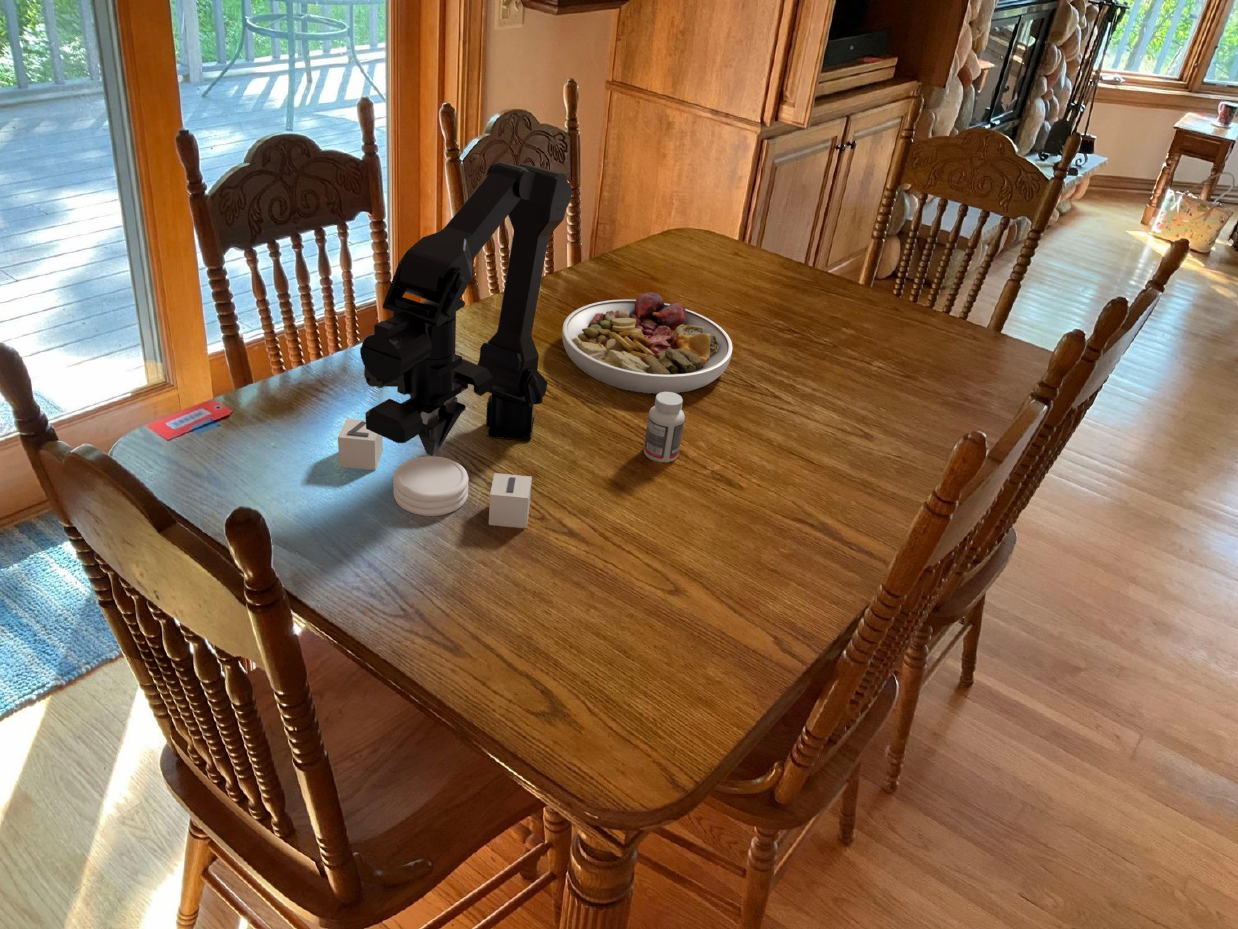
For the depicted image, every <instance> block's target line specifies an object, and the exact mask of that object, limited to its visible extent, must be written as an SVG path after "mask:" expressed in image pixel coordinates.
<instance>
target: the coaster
mask: <svg viewBox="0 0 1238 929" xmlns="http://www.w3.org/2000/svg"><path fill="white" fill-rule="evenodd" d="M392 478H393V480H392V481H393V498H394V500H395V501H396V503H397V505H398V506H399V507H400V508H401V509H403V510H405V511H407V512H408V513H411V514H415V515H418V516H425V517H431V516H432V517H437V516H444V515H447V514H451V513H453V512H456V511H457V510H459V509H460V508H461V507H462V506H463V505H464V504H465V503H466V502H467V500H468V497H469V474H468V472H467V470H466V469H465V468H464V467H463V466H462V465H461V464H460V463H458V462H457V461H454V459H453V460H452V459H450V458H447V457H443V456H436V455H434V456H430V455H427V456H421V457H420V456H419V457H416V458H412V459H409V460H407V461H405V462H403V463H402V464H401V465H399V466H398V467H397V469H395V472H394V473H393V477H392Z"/></svg>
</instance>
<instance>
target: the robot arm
mask: <svg viewBox="0 0 1238 929" xmlns="http://www.w3.org/2000/svg"><path fill="white" fill-rule="evenodd" d="M572 189H573V188H572V185H571V183H570V182H568V177H567V176H566V174H565V173H562V172H559V171H555V170H552V169H548V168H544V167H539V166H536V165H532V164H529V163H525V162H523V163H520V164H519V165H515V164H513V163H508V162H504V161H498V162H493V163H492V164H490V165H489V167H488V170H487V173H486V177H485V178H484V180H483V181H482V182H481V183H480V184H479V185H478V186H477V188H476V189H475V190H474V191H473V193H472V194H471V195H470V196H469V198H468V199H467V200H466V201H465V203H464V204H463V205H462V206H461V207H460V208H459V209H458V210H457V212H456V213H455V214H454V215H453V217H452V218H451V219H450V220H449V221H448V222H447V224H446V225H445V226H444V227H443V228H442V229H441V230H439V231H438V232H434V233H432V234H429V235H425V236H423V237H421V238H420V239H419V240H418V241H417V242H415V243H414V244H413V245H412V246H411V247H409V248H408V250H406V251H405V252H404V254H403V256H402V257H401V258H400V260H399V261H398V264H397V267H396V269H395V271H394V275H393V277H392V280H391V282H390V286H389V287H388V291H387V293H386V295H385V298H384V301H383V304H382V309H383V310H386V311H388V312H392V315H393V316H391V317H388V318H387V319H386V320H385V319H384V320H380V321H379V322H377V323H375V324H374V326H373V332H374V333H372V334H370V335H368V336H367V337H365V338H364V340H363V341H362V343H361V346H360V348H359V350H360V351H359V352H360V353H359V354H360V359H361V361H362V364H363V365H364V370H363V371H364V372H363V375H364V378H365V382H366V384H367V385H368V386H369V387H374V388H375V387H377V388H379V389H383V388H385V387H386V388H387V387H391V388H392V387H393V388H394V387H395V388H396V387H397V389H396V390H397V391H396V392H397V393H399V394H400V395H403V396H406V395H409V398H408V399H406V400H405V401H403V402H398V401H396V400H394V399H392V398H388V399H386V400H384V401H382V402H381V403H379V404H377V405H375V406H373V407H372V408H369V409H368V410H367V411H366V412H365V420H366V429H368V430H370V431H372V432H374V433H376V434H379V435H381V436H383V438H386V439H388V440H390V441H393V442H394V443H397V444H405V443H407V442H409V441H411V440H412V439H414V438H415V437H417V436H418V437H419V439H420V442H421V444H422V445H423V449H424V451H425V453H426V454H427V456H436V455H437V454H438V452H439V451H440V449H441V447H442V445H443V444H444V442H445V440H446V439H447V437H448V435H449V433H450V431H451V430H452V428H453V427H454V426H455V424H456V422H457V421H458V419H459V417H460V416H461V415H462V413H463V412H464V411H465V410H466V408H467V407H466V404H464V403H461V402H459V401H458V397H457V396H458V395H459V394H461V393H462V392H464V391H465V390H467V389H469V385H471V386H473V393H474V394H476V395H477V396H480V397H481V396H483V395H485V394H486V393H489V394H490V395H489V396H488V399H487V402H486V416H485V417H486V419H485V421H486V422H485V426H486V427H487V428H488V430H487V437H490V438H498V439H508V440H516V441H517V440H519V441H531V440H532V434H533V429H534V424H535V423H534V422H535V417H534V407H535V405H541V404H543V398H544V397H545V395H546V392H547V387H548V385H549V384H548V381H547V380H546V379H545V377H544V376H543V375H542V374H541V373H540V372H539V371H538V369H539V368H538V367H539V352H538V350H537V347H536V345H535V341H534V339H533V337H532V334H533V327H534V322H535V317H536V311H537V304H538V301H539V300H538V299H539V294H540V288H541V283H542V277H543V273H544V266H545V261H546V254H547V249H548V244H549V243H548V242H549V238H550V235H552V233H553V232H554V231H555V230H556V229H557V228H558V226H560V224H562V223H563V221H564V219H565V215H566V212H567V208H568V207H569V205H570V202H571V200H572V195H573V190H572ZM507 217H508V218H509V221H510V224H511V227H512V230H513V234H512V240H511V246H510V251H509V258H508V264H507V269H506V270H507V271H506V277H505V283H504V290H503V295H502V300H501V308H500V313H499V314H500V315H499V320H498V325H497V329H496V330H497V331H496V332H495V333H494V335H492V337H490V339H489V340H488V341H487V342H483V343H482V344H481V346H480V348H479V349H480V350H479V358H478V359H479V360H478V363H477V364H476V363H474V362H471V361H468V360H466V359H464V358H463V356H461V355H458V354H456V342H457V340H456V339H457V338H456V337H457V336H456V335H457V334H456V332H457V323H456V322H457V312H458V311H459V310H461V309H463V308H464V307H465V306H466V301H465V300H463V299H462V296H463V295H464V293H465V291H466V290H467V287H468V285H469V283H470V282H471V280H472V278H473V261H474V260H475V258H476V257H477V255H478V254H479V253H480V252H481V250H482V249H483V248H484V246H485V245H486V243H488V241H489V240H490V239H491V237H493V235H494V233H496V231H497V230H498V229H499V227H500V226H501V225H502V224H503V222H504V221H505V220H506V218H507ZM405 293H406V294H409V295H411V296H415V297H418V298H420V299H423V301H420V302H419V301H417V300H416V301H415V300H413V299H410V298H407V297H404V295H405Z"/></svg>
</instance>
